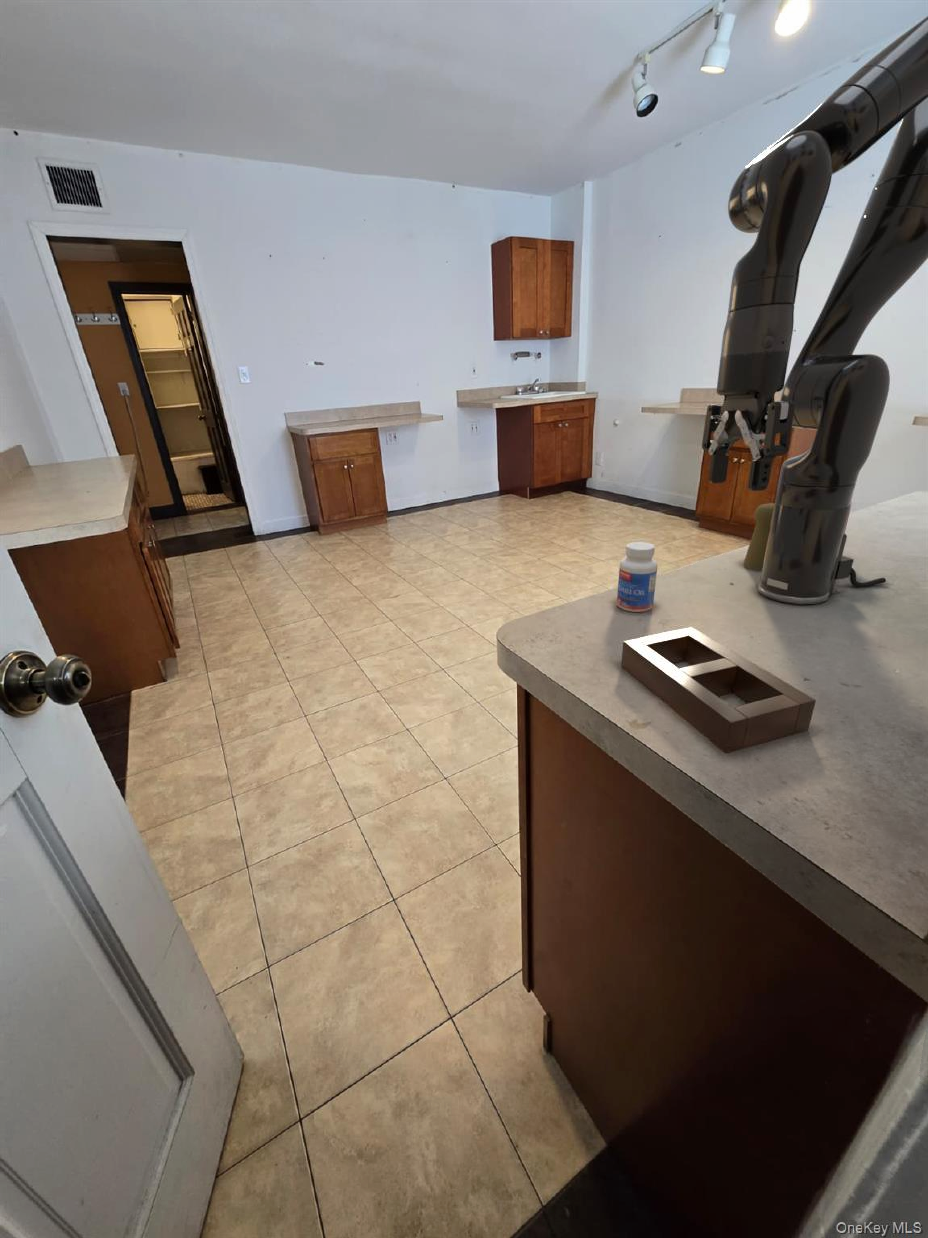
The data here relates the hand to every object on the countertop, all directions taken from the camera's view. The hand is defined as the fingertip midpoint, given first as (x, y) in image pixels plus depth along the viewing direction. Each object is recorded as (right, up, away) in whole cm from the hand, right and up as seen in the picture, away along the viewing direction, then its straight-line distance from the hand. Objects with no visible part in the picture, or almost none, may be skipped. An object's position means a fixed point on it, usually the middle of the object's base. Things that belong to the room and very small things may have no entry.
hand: (735, 486), depth 69 cm
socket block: (-10, -26, -12) cm, 31 cm away
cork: (+17, -9, +23) cm, 30 cm away
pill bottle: (-10, -16, +11) cm, 22 cm away
